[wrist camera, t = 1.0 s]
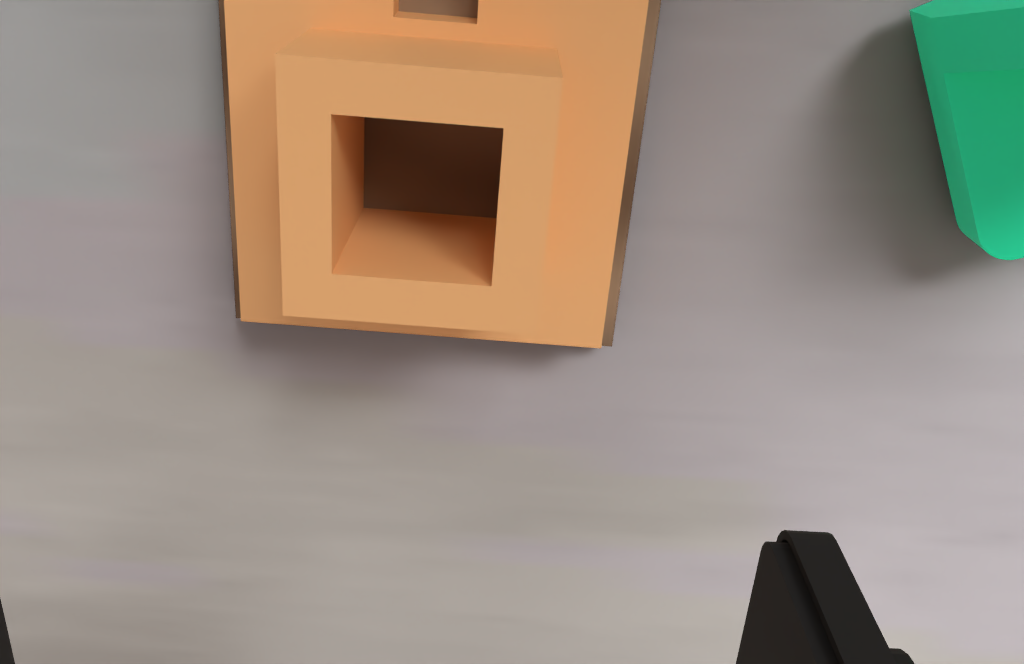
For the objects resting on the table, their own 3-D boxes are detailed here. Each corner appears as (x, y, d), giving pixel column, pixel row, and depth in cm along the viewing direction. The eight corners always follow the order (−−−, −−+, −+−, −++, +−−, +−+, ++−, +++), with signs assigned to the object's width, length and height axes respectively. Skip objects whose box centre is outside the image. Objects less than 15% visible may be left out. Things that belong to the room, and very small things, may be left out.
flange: (251, 305, 29) (199, 385, 25) (233, -75, 25) (165, -63, 20) (598, 331, 30) (612, 415, 25) (647, -39, 25) (676, -19, 20)
